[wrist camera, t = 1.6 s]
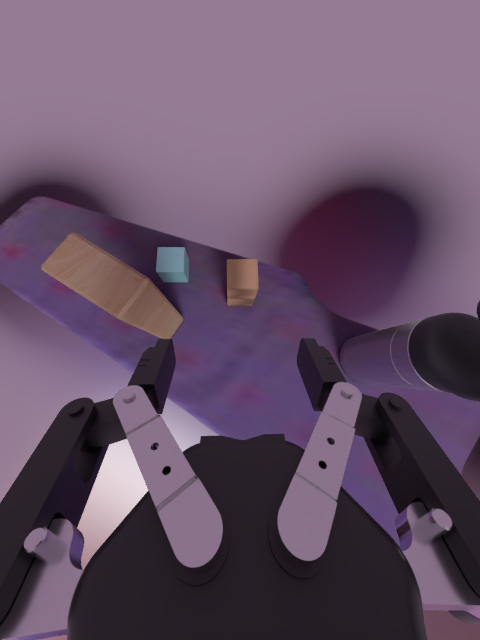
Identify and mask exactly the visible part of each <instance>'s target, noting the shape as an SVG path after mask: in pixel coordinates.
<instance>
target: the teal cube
mask: <svg viewBox="0 0 480 640" xmlns="http://www.w3.org/2000/svg"><path fill="white" fill-rule="evenodd" d="M156 273H157V274H158V275H159V277H160V278H161V279H162V280H163V282H188V281H189V258H188V255H187V252H186V250H185V247H158V250H157V264H156Z"/></svg>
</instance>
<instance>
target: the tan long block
mask: <svg viewBox="0 0 480 640" xmlns="http://www.w3.org/2000/svg"><path fill="white" fill-rule="evenodd" d="M257 291H258V261H257V260H256V259H227V306H252V304H253V302H254V299H255V296H256V293H257Z"/></svg>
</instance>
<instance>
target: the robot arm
mask: <svg viewBox="0 0 480 640" xmlns="http://www.w3.org/2000/svg"><path fill="white" fill-rule="evenodd" d="M477 315H478V318H479V319H478V318H476V317H473V316H471V315H467V314H463V313H446V314H441V315H436V316H432V317H429V318H425V319H421V320H417V321H413V322H410V323H406V324H402V325H398V326H394V327H390V328H387V329H382V330H378V331H374V332H371V333H366V334H363V335H359V336H355V337H352V338H350V339H348V340H347V341H346V342H345V343H344V344H343V345H342V348H341V350H340V364H341V366H342V369H343V370H344V372H345V373H346V374H347V375H348V376H349V377H350V378H351V379H352V380H354V381H356V382H359V383H365V384H374V385H383V386H393V387H402V388H412V389H421V390H432V391H441V392H449V393H453V394H455V395H457V396H460V397H462V398H465V399H469V400H473V401H479V402H480V301H479V303H478V306H477ZM175 363H176V359H175V352H174V347H173V341H172V339H158V341H157V343H156V346H155V347H149V348H148V349H147V350H146V351H145V352H144V353H143V355H142V357H141V359H140V361H139V363H138V366H137V367H136V369H135V371H134V373H133V375H132V377H131V379H130V382H129V384H128V386H127V387H125V388H123V389H121V390H120V391H118V392H117V393H116V395H115V396H114V398H112V399H109V400H105V401H101V402H97V403H94V402H93V401H92V400H91V399H90V398H79V399H76V400H73V401H72V402H70V403H68V404H67V405H65V406H64V407H63V408H62V409H61V411H60V412H59V414H58V415H57V417H56V418H55V420H54V421H53V423H52V424H51V426H50V428H49V429H48V431H47V432H46V434H45V435H44V437H43V438H42V440H41V441H40V443H39V444H38V446H37V447H36V449H35V451H34V452H33V454H32V455H31V457H30V458H29V460H28V461H27V463H26V464H25V466H24V468H23V469H22V471H21V472H20V474H19V475H18V477H17V478H16V480H15V481H14V483H13V485H12V486H11V488H10V489H9V491H8V492H7V494H6V495H5V497H4V498H3V500H2V501H1V503H0V640H38V639H44V638H50V637H56V636H62V635H67V640H427V636H426V630H425V625H424V617H423V609H424V610H448V611H449V612H450V613H451V614H452V615H453V616H455V617H456V618H457V619H459V620H460V621H463V622H465V623H469V624H473V623H479V622H480V501H479V500H478V498H477V497H476V495H475V494H474V493H473V492H472V490H471V489H470V487H469V486H468V485H467V483H466V482H465V481H464V479H463V477H462V476H461V475H460V473H459V472H458V471H457V469H456V468H455V466H454V465H453V464H452V462H451V461H450V460H449V458H448V457H447V455H446V454H445V453H444V451H443V450H442V449H441V447H440V446H439V445H438V443H437V442H436V440H435V439H434V438H433V436H432V435H431V434H430V432H429V431H428V429H427V428H426V427H425V425H424V424H423V423H422V421H421V420H420V418H419V417H418V416H417V414H416V413H415V412H414V410H413V409H412V407H411V406H410V405H409V403H408V402H407V401H406V400H404V399H403V398H402V397H400V396H398V395H396V394H393V393H383V394H381V395H380V397H379V398H375V397H371V396H367V395H363V394H361V393H360V391H359V390H358V389H357V388H356V387H355V386H353V385H351V384H349V383H347V382H346V380H345V378H344V376H343V375H342V373H341V371H340V370H339V368H338V366H337V364H336V363H335V361H334V359H333V357H332V356H331V354H330V352H329V351H328V350H326V349H325V348H324V347H323V346H318V344H317V342H316V340H315V339H314V338H302V339H301V341H300V346H299V350H298V355H297V366H298V369H299V371H300V374H301V377H302V380H303V382H304V385H305V388H306V390H307V393H308V396H309V399H310V401H311V404H312V407H313V409H314V411H321V412H322V413H321V415H320V417H319V420H318V422H317V424H316V426H315V429H314V431H313V433H312V436H311V438H310V440H309V443H308V445H307V447H306V450H303V449H302V448H301V447H299V446H297V445H295V444H293V443H291V442H288V441H285V437H284V434H264V435H260V436H257V437H254V438H251V439H247V440H238V439H233V438H229V437H225V436H201V440H200V443H199V444H196V445H194V446H191V447H190V448H188V449H186V450H185V451H184V452H182V451H181V450H180V448H179V446H178V444H177V443H176V441H175V439H174V437H173V436H172V434H171V433H170V431H169V429H168V427H167V426H166V424H165V422H164V420H163V419H162V417H161V416H160V415H158V414H162V412H163V408H164V405H165V401H166V398H167V394H168V391H169V387H170V383H171V380H172V376H173V373H174V369H175ZM354 434H355V435H358V436H362V437H364V439H365V442H366V444H367V446H368V448H369V450H370V453H371V455H372V457H373V459H374V461H375V463H376V466H377V468H378V470H379V472H380V474H381V476H382V479H383V481H384V483H385V485H386V487H387V490H388V492H389V494H390V496H391V498H392V500H393V503H394V505H395V507H396V509H397V511H398V513H399V515H398V516H397V517H396V520H395V528H396V532H397V535H398V538H399V546H398V544H397V543H396V542H395V541H394V540H393V538H392V537H391V536H390V535H389V534H388V533H387V532H386V531H385V530H384V529H383V528H382V527H381V526H380V525H379V524H378V523H377V522H376V521H375V520H374V519H373V518H372V517H371V516H370V515H369V514H368V513H367V512H366V511H365V510H364V509H363V508H362V507H361V506H360V505H359V504H358V503H357V502H356V501H355V500H354V499H353V498H352V497H351V496H350V495H349V494H348V493H347V492H346V491H345V490H344V489H343V488H342V487H341V482H342V479H343V475H344V471H345V467H346V464H347V460H348V456H349V452H350V448H351V445H352V441H353V437H354ZM124 439H128V441H129V444H130V446H131V449H132V451H133V453H134V456H135V458H136V461H137V463H138V466H139V468H140V471H141V473H142V475H143V478H144V480H145V483H146V485H147V488H148V490H149V491H148V492H147V493H146V494H145V495H144V497H143V498H142V499H141V500H140V501H139V502H138V504H137V505H136V506H135V507H134V508H133V509H132V511H131V512H130V513H129V514H128V515H127V516H126V517H125V519H124V520H123V521H122V522H121V523H120V524H119V526H118V527H117V528H116V529H115V530H114V532H113V533H112V534H111V535H110V536H109V537H108V538H107V540H106V541H105V542H104V543H103V544H102V546H101V547H100V548H99V549H98V550H97V552H96V553H95V554H94V555H93V557H92V558H91V559H90V561H89V563H88V564H87V566H86V567H85V569H84V570H83V569H82V566H81V557H82V552H83V547H84V537H83V534H82V533H81V532H80V531H79V530H78V529H77V526H78V524H79V521H80V518H81V516H82V513H83V511H84V508H85V505H86V503H87V500H88V498H89V495H90V493H91V490H92V487H93V484H94V482H95V479H96V477H97V474H98V471H99V469H100V466H101V464H102V461H103V459H104V456H105V453H106V451H107V448H108V446H109V444H112V443H115V442H118V441H121V440H124Z"/></svg>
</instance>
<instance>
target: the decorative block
mask: <svg viewBox="0 0 480 640" xmlns="http://www.w3.org/2000/svg"><path fill="white" fill-rule="evenodd" d="M41 268H42V270H43V271H44V272H46V273H48V274H49V275H51V276H52V277H54V278H55V279H57V280H58V281H60V282H61V283H63V284H65V285H66V286H68V287H69V288H71V289H72V290H74V291H75V292H77V293H79V294H80V295H82V296H83V297H85V298H86V299H88V300H89V301H91V302H93V303H94V304H96V305H97V306H99V307H100V308H102V309H103V310H105V311H107V312H108V313H110V314H111V315H113V316H114V317H116V318H118V319H120V320H122V321H124V322H126V323H129V324H131V325H133V326H135V327H137V328H140V329H142V330H144V331H146V332H149V333H151V334H153V335H155V336H157V337H160V338H162V339H170V338H171V337H172V335H173V334H174V333H175V331H176V330H177V328H178V327H179V325H180V324H181V323H182V321H183V320H184V319H183V316H182V315H181V314H180V313H179V312H178V311H177V310H176V308H175V307H174V306H173V305H172V304H171V303H170V302H169V301H168V299H167V298H166V297H165V296H164V295H163V294H162V293H161V291H160V290H159V289H158V288H157V287H156V286H155V285H154V284H153V282H152V281H151V280H150V279H149V278H148V277H146V276H145V275H143V274H141V273H140V272H138V271H137V270H135V269H133V268H132V267H130V266H129V265H127V264H125V263H124V262H122V261H120V260H119V259H117V258H116V257H114V256H112V255H111V254H109V253H108V252H106V251H104V250H103V249H101V248H99V247H98V246H96V245H95V244H93V243H91V242H90V241H88V240H87V239H85V238H83V237H82V236H80V235H78V234H77V233H71V234H70V235H69V236H68V237H67V238H66V239H65V240H64V241H63V243H62V244H61V245H60V246H59V247H58V248H57V249H56V250H55V251H54V252H53V253H52V255H51V256H50V257H49V258H48V259H47V260H46V261H45V262H44V263H43V264H42V265H41Z"/></svg>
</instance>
